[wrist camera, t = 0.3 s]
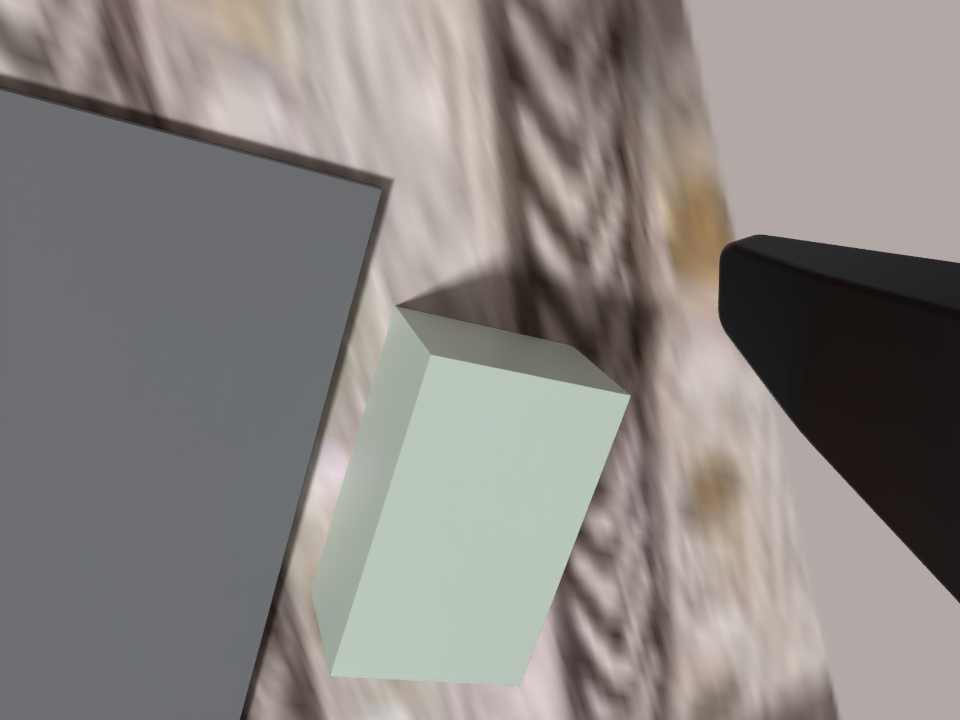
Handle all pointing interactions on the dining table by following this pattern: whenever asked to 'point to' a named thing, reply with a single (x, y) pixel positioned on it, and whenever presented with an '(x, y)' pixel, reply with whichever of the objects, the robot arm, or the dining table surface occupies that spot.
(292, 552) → the dining table surface
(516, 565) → the card case
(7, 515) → the rubber mat
